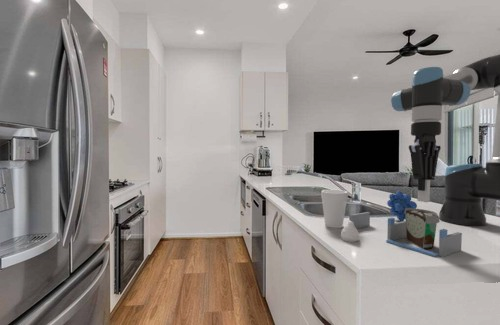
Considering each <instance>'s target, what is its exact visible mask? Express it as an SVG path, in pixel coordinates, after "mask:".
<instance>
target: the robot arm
mask: <svg viewBox="0 0 500 325" xmlns="http://www.w3.org/2000/svg"><path fill="white" fill-rule="evenodd" d="M491 88H493V91H494V92H495V93H496V94H498V95H497V104H496V114H495V125H494V135H493V144H492V156H491V159H488V160H487V161H486V162H485V167H484V166H483V164H482V163H467V164H466V163H465V164H453V165H452V164H451V165H449V166H447V167H446V169H445V175H444V201H443V203H442V205H441V208H440V211H439V212H438V216H439V220H441V221H443V222H447V223H451V224H456V225H462V226H473V227H474V226H476V227H477V226H486V224H487V217H486V215H485V211H484V209H483V207H482V199H487V200H494V201H500V53H499V54H497V55H496V54H495V55H493V56H489V57H485V58H482V59H480V60H477V61H474V62H472V63H470V64H467V65H465V66H463V67H460V68H458V69H456V70H455V71H454V72H453V73H451V74H447V75H444V71H443V69H442V67H439V66H430V67H422V68H419V69H417V70H416V71H414V72H413V74H412V82H411V87H410V88H405V89H401V90H398V91H395V92H394V93H393V94H392V96H391V99H390V103H391V107H392V108H393V110H395V111H396V112H407V111H411V112H410V113H411V114H410V115H411V120H410V121H411V122H412V123H411V124H410V135H411V136H413V137H414V140H413V142H414V143H413V144H412V145H411V144H410V145H408V150H409V153H410V162H411V170H412V177H413V179H414V180H417V200H416V201H418V202H423V203H429V202H430V199H431V198H430V197H431V181H434V180H435V177H436V173H437V167H438V160H439V155H440V151H441V148H442V147H441V145H437V139H436V136H440V135H441V133H442V122H440V121H441V120H442V119H443V118H442V117H443V116H442V113H443V112H442V111H443V110H442V109H443V107H442V106H451V107H452V106H460V105H462V104H464V103H465V102H466V101H467V100H468V99H469V98H470V94H471V91H475V90H483V89H491Z"/></svg>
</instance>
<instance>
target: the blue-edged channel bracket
mask: <svg viewBox="0 0 500 325" xmlns="http://www.w3.org/2000/svg"><path fill="white" fill-rule="evenodd" d="M370 220H371V212H370V211H365V212H360V213H353V214H349V220H348V221H351V222H353V223H354V226H355V228H356V229H360V228H364V227H370V223H371V222H370ZM438 236H439V237H438V238H439V240H438V253H436V252H433V251H430V250H424V249H421V248H419V247H417V246H415V245H414V246H413V245H409V244H407V243H403V242H399V241H398V240H400V239H404V238H406V220H403V221H399V222H398V221H397V222H396V219H395V217H387V237H386V240H385V241H386V243H389V244H391V245H395V246H398V247H401V248H402V247H403V248H405V249H408V250H411V251H414V252H417V253H421V254H424V255H427V256H431V257H434V258H437V257H442V258H443V257H446V256H449V255H452V254H455V253H458V252H461V251H462V243H463V242H462V241H463V240H462V239H463V237H462V236H463V233H462V232H459V231H456V232H452V233H450V234H448V229H445V228H442V229H441V228H440V229H439V235H438ZM396 240H397V241H396Z"/></svg>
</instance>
